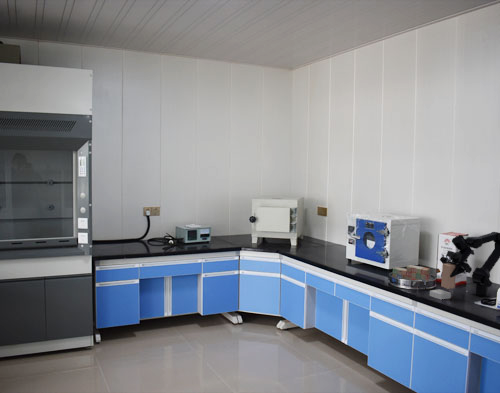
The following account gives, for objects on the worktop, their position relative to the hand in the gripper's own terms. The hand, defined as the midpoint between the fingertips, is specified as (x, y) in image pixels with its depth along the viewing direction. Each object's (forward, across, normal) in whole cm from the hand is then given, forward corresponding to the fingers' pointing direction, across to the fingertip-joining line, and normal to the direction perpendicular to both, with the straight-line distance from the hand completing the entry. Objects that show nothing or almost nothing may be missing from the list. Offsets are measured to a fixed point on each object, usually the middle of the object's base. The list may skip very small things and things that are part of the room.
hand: (446, 275), depth 252 cm
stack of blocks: (+9, -31, +11) cm, 34 cm away
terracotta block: (+4, 0, +6) cm, 7 cm away
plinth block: (+9, -5, +10) cm, 14 cm away
